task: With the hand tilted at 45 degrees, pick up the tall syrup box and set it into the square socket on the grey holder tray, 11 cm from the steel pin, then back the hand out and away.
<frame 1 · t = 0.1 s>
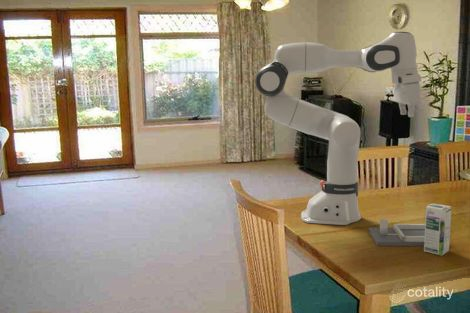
hand: (407, 115, 170), 39 cm above the table, tool pointing down, fingers open, 8 cm apart
syrup box: (436, 251, 144), on the table
grey holder tray: (404, 237, 156), on the table
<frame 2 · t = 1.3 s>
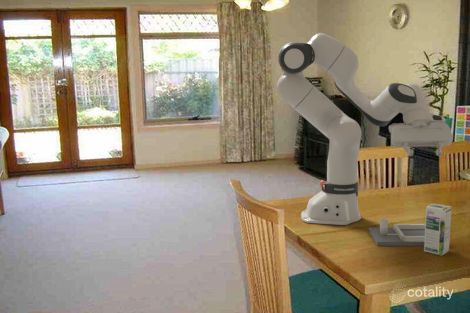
hand: (425, 154, 159), 27 cm above the table, tool tilted 45°, fingers open, 8 cm apart
nothing on the table moved.
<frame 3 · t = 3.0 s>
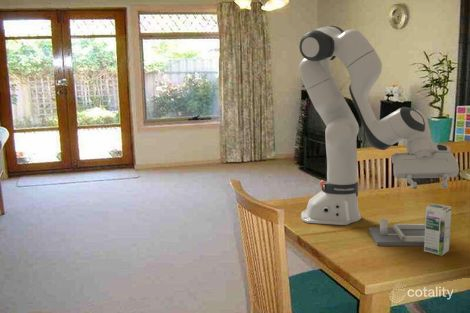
hand: (429, 187, 151), 18 cm above the table, tool tilted 45°, fingers open, 8 cm apart
nothing on the table moved.
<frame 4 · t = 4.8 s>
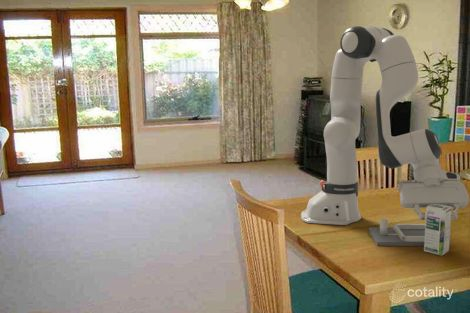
hand: (438, 218, 143), 10 cm above the table, tool tilted 45°, fingers open, 8 cm apart
syrup box: (436, 251, 144), on the table, touching gripper
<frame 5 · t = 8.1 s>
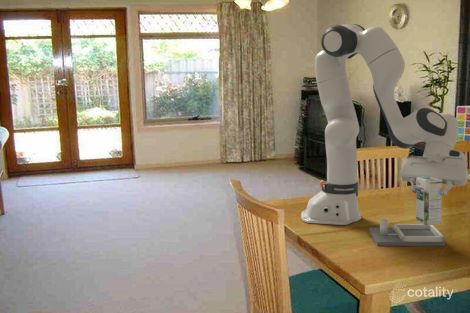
hand: (428, 193, 147), 17 cm above the table, tool tilted 45°, fingers closed on syrup box, 8 cm apart
syrup box: (428, 223, 149), point 7 cm above the table, touching gripper
when the fingers open (11 cm above the table, at t = 10.4 s): syrup box stays where it is, resting on grey holder tray.
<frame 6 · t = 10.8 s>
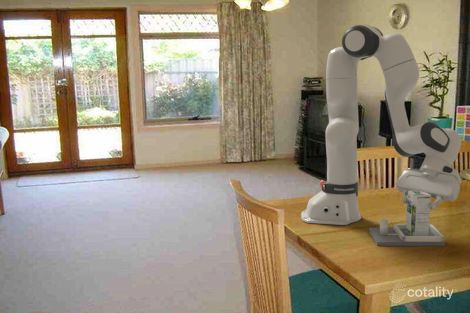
hand: (417, 205, 153), 11 cm above the table, tool tilted 45°, fingers open, 8 cm apart
syrup box: (417, 235, 155), point 1 cm above the table, touching grey holder tray
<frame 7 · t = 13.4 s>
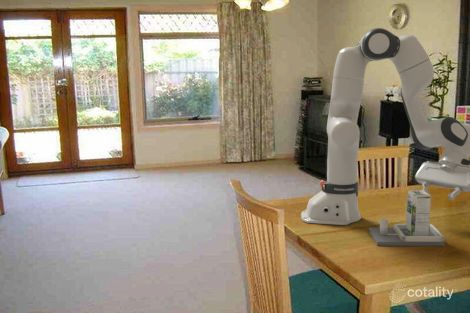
hand: (436, 196, 161), 12 cm above the table, tool tilted 45°, fingers open, 8 cm apart
nothing on the table moved.
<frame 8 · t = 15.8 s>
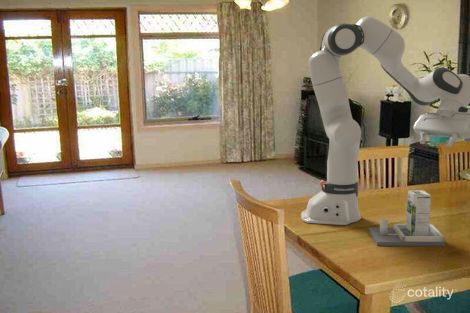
hand: (434, 144, 163), 29 cm above the table, tool tilted 45°, fingers open, 8 cm apart
nothing on the table moved.
at the end: syrup box 0.1 cm from the target spot on the grey holder tray, point 1.0 cm above the grey holder tray's base; syrup box tilted 0°; the gripper is holding nothing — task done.
